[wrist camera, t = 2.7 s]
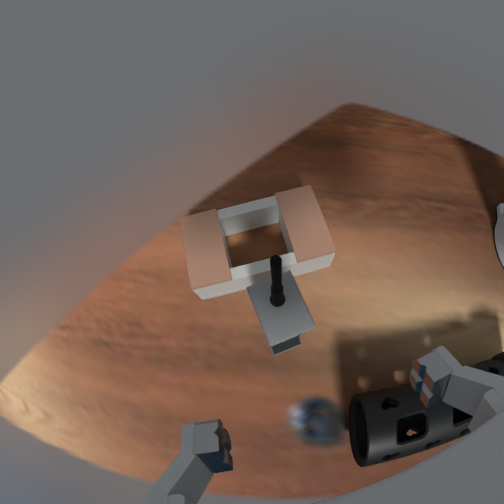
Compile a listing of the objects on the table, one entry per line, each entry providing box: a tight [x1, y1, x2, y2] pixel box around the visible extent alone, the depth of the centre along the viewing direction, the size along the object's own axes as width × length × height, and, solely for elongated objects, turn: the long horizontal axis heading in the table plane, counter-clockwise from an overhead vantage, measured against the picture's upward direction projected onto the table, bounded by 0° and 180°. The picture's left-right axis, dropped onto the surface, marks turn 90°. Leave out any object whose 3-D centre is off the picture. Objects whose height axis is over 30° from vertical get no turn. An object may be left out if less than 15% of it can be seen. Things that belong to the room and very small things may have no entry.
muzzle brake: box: [349, 352, 504, 467], centre depth 26 cm, size 10×28×10 cm, turn 93°
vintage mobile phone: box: [246, 255, 315, 356], centre depth 26 cm, size 4×5×25 cm
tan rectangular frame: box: [180, 185, 337, 300], centre depth 39 cm, size 18×10×6 cm, turn 104°
